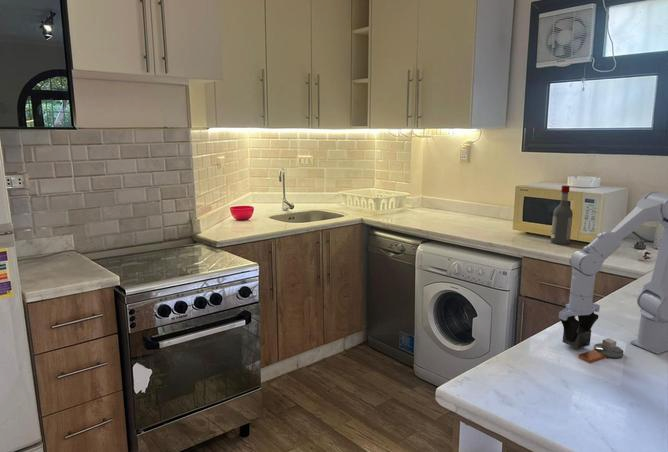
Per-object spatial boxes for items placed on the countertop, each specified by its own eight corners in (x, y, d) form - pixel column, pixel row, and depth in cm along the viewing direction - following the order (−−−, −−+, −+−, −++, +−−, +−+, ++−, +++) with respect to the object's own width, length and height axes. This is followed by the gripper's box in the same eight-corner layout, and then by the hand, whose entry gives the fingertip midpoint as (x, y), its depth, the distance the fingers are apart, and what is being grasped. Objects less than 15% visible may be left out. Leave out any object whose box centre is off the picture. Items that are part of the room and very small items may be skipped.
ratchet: (604, 345, 142) (605, 333, 141) (628, 355, 136) (630, 343, 135) (572, 355, 136) (573, 342, 135) (596, 366, 130) (598, 353, 129)
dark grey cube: (574, 338, 144) (575, 323, 143) (589, 345, 139) (591, 330, 138) (562, 341, 141) (563, 327, 140) (577, 348, 137) (579, 333, 136)
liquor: (569, 241, 262) (575, 185, 256) (569, 245, 254) (575, 187, 248) (550, 239, 266) (556, 184, 259) (550, 243, 258) (556, 186, 251)
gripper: (585, 285, 144) (581, 328, 147) (551, 293, 137) (546, 338, 140) (608, 292, 138) (603, 337, 141) (573, 301, 131) (568, 348, 134)
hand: (576, 338), depth 140 cm, fingers closed on dark grey cube, 5 cm apart
